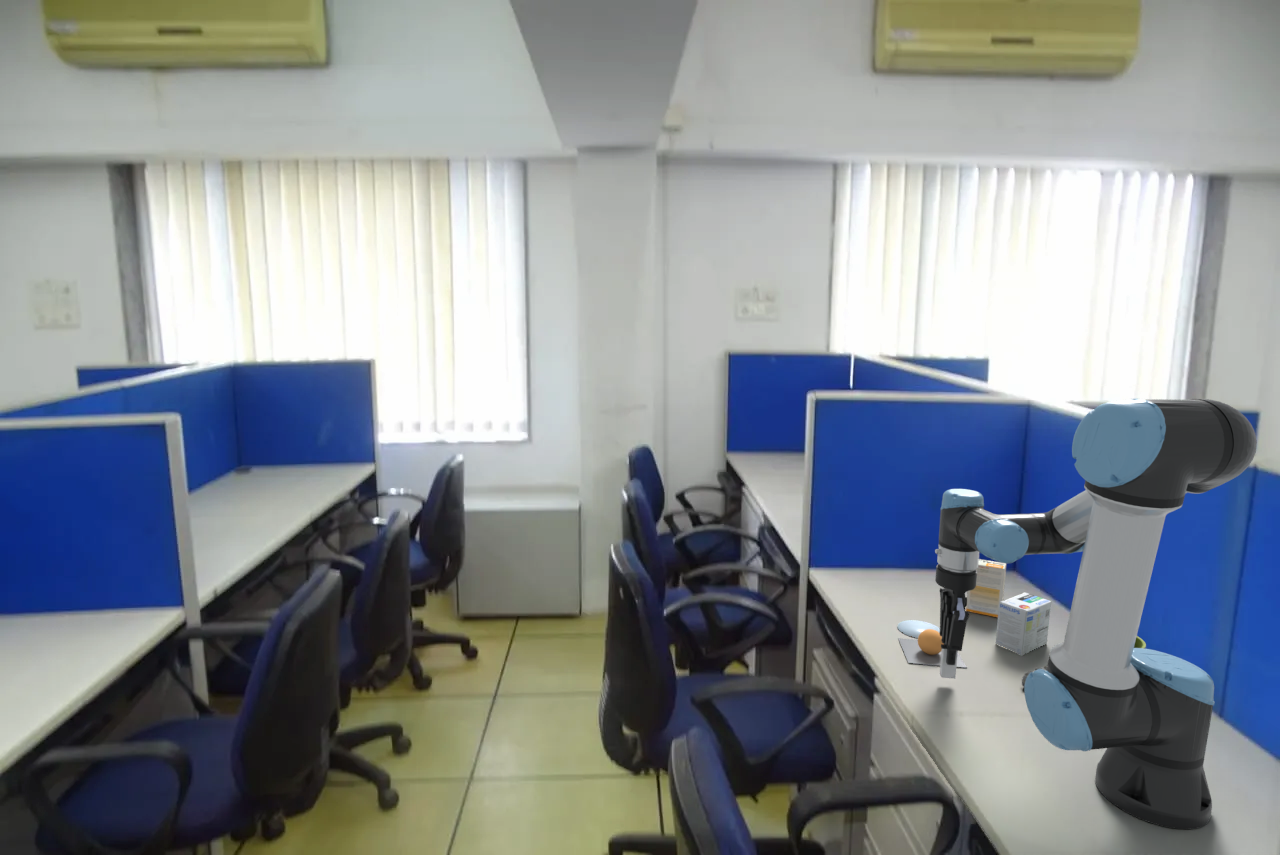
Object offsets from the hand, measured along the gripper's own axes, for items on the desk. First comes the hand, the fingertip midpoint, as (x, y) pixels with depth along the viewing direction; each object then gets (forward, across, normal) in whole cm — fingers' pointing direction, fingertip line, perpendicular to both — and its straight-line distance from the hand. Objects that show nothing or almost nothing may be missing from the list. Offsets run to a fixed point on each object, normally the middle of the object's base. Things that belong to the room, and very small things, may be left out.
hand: (947, 676), depth 150 cm
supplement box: (+2, -40, +18) cm, 44 cm away
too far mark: (+2, -26, 0) cm, 26 cm away
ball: (-1, -14, 0) cm, 14 cm away
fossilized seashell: (+2, +1, +20) cm, 20 cm away
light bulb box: (+2, -22, +22) cm, 31 cm away
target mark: (+2, -14, 0) cm, 14 cm away
